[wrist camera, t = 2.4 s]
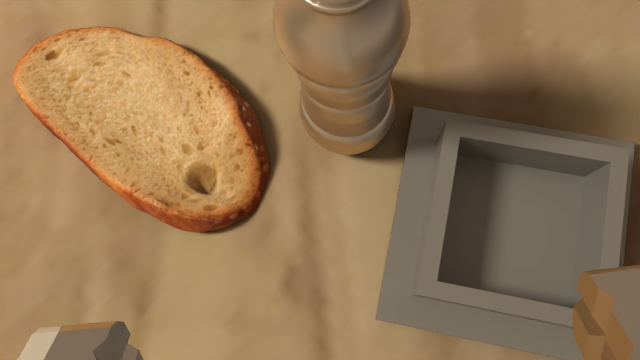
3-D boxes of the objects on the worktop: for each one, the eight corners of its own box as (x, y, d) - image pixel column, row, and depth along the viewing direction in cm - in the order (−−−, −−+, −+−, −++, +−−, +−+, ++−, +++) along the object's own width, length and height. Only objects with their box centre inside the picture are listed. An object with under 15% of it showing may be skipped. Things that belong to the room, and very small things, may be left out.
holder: (608, 368, 35) (646, 379, 30) (375, 318, 36) (377, 321, 32) (629, 145, 37) (667, 123, 33) (413, 109, 39) (419, 84, 35)
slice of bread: (17, 52, 43) (-15, 29, 40) (235, -2, 43) (223, -30, 39) (40, 274, 39) (7, 271, 36) (281, 217, 39) (273, 208, 35)
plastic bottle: (354, 59, 40) (347, -164, 21) (412, 127, 39) (461, -44, 19) (285, 109, 40) (211, -70, 21) (340, 181, 39) (318, 60, 19)
